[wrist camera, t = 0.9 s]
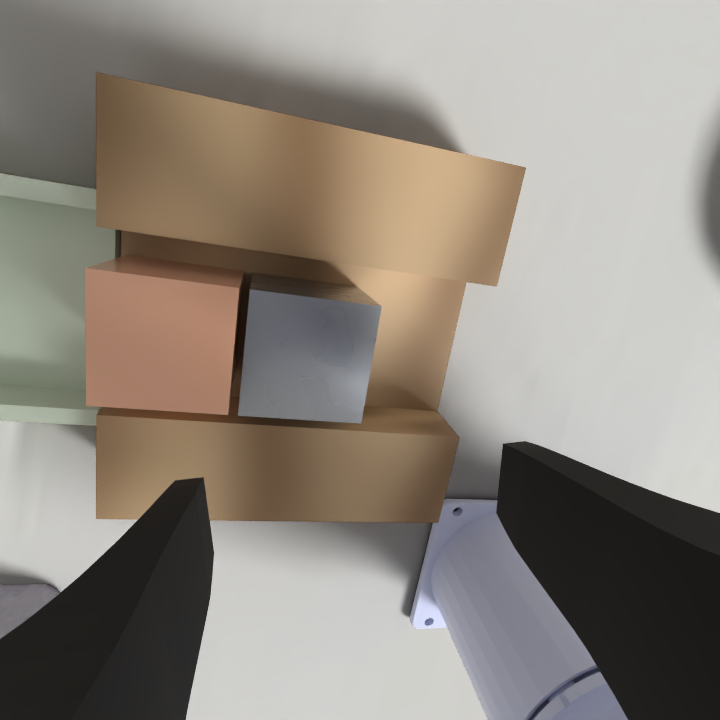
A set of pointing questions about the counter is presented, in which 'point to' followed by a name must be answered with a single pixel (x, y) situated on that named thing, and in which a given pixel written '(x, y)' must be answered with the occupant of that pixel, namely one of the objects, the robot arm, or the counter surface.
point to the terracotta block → (161, 335)
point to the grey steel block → (307, 350)
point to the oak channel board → (304, 261)
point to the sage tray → (46, 298)
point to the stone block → (22, 603)
